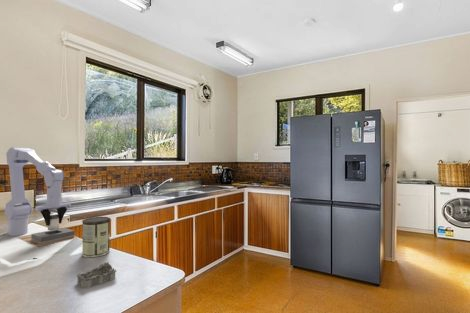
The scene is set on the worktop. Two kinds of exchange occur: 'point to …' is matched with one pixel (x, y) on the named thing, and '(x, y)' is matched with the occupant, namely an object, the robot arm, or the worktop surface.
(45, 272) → the worktop surface
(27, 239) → the board
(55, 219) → the cylinder
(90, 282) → the egg carton
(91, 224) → the coffee can
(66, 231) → the grey square frame plate
